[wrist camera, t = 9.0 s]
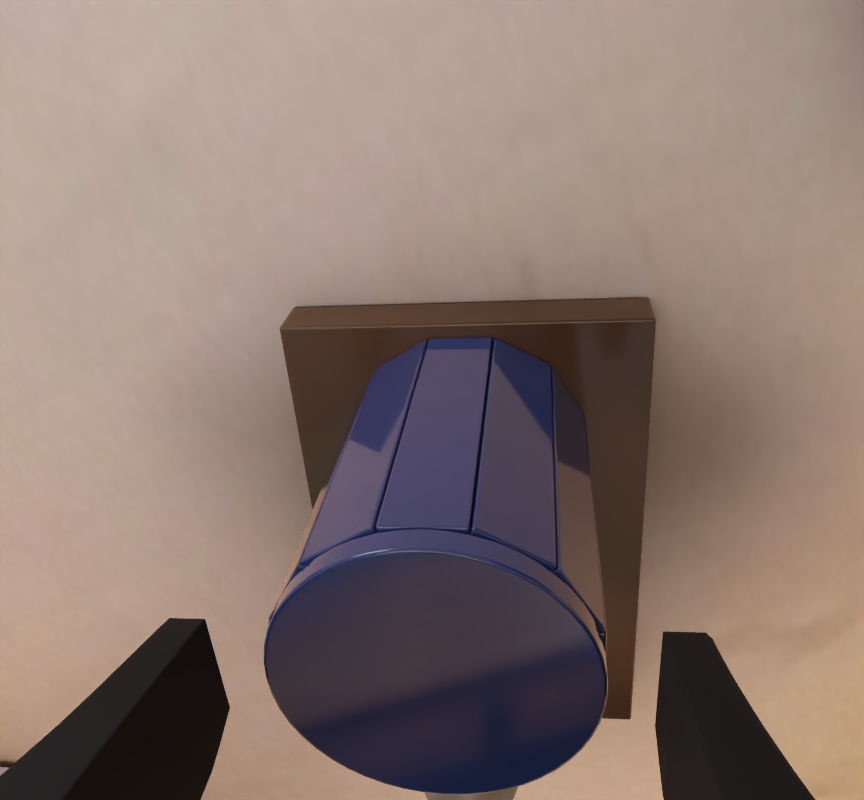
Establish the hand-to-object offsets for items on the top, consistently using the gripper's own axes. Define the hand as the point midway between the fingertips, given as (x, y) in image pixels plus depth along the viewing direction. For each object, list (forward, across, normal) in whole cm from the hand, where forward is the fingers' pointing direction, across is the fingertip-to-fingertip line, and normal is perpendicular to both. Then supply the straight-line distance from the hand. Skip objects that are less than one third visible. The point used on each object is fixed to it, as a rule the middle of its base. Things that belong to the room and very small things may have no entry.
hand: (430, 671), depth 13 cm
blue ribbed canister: (+7, 0, 0) cm, 7 cm away
